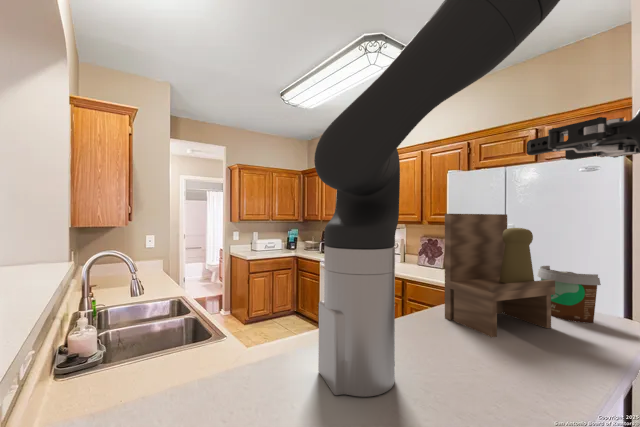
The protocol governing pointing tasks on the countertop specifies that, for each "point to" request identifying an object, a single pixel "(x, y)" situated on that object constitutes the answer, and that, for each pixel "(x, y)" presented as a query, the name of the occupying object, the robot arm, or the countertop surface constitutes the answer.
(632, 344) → the countertop surface
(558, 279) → the food container
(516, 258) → the cork
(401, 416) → the countertop surface
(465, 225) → the wooden chair
